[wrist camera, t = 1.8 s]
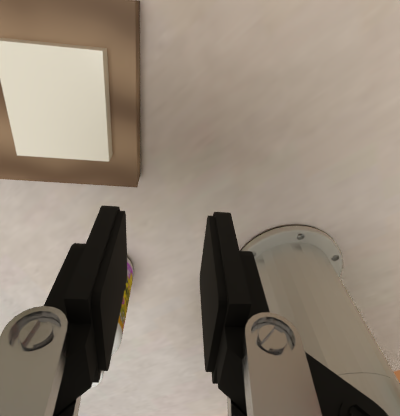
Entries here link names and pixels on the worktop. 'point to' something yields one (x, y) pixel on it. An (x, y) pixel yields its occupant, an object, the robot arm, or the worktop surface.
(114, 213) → the robot arm
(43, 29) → the brown wooden flat block
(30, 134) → the tile
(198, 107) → the worktop surface
